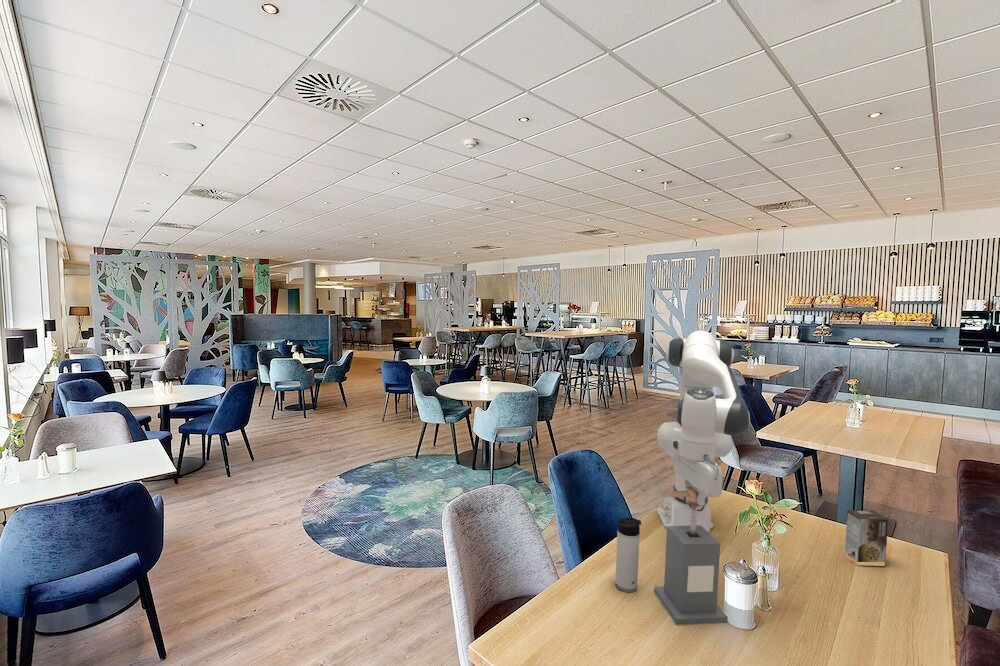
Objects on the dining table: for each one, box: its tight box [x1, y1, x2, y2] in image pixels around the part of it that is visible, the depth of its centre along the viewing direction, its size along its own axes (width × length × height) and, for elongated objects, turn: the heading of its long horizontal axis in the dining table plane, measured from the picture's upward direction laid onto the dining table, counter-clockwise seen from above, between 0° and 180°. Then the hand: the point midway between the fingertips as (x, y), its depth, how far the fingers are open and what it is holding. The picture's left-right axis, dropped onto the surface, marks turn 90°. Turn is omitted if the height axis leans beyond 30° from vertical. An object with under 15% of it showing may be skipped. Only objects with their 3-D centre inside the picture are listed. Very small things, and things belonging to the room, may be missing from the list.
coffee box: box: [844, 509, 889, 563], centre depth 155 cm, size 9×6×16 cm
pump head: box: [667, 487, 703, 537], centre depth 128 cm, size 4×10×20 cm, turn 95°
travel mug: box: [614, 517, 642, 593], centre depth 138 cm, size 6×7×20 cm
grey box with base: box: [653, 525, 729, 625], centre depth 129 cm, size 14×14×20 cm
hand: (694, 499), depth 128 cm, fingers closed on pump head, 4 cm apart
